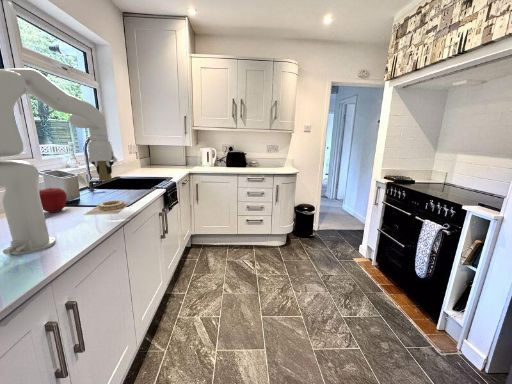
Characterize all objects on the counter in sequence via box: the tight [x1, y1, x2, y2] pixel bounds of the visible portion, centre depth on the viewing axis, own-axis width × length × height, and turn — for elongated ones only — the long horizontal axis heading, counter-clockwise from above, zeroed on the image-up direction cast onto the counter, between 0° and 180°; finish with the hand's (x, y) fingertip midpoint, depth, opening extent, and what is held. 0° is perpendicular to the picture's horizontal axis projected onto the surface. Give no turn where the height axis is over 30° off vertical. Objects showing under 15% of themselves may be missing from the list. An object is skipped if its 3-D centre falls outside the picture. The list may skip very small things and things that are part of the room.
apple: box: [39, 187, 68, 214], centre depth 123 cm, size 12×12×13 cm
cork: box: [97, 161, 113, 182], centre depth 124 cm, size 6×6×11 cm
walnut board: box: [83, 201, 132, 216], centre depth 128 cm, size 20×16×1 cm
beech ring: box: [97, 199, 125, 210], centre depth 131 cm, size 12×12×2 cm
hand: (104, 173), depth 125 cm, fingers closed on cork, 4 cm apart
